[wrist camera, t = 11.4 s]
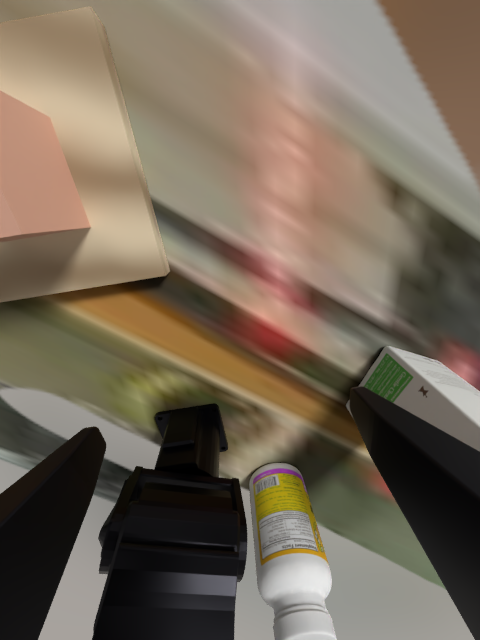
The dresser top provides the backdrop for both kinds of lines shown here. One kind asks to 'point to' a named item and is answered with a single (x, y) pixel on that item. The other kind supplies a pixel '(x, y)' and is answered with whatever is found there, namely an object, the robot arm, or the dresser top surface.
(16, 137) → the terracotta cube
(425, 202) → the dresser top surface
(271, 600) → the supplement bottle
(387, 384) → the skincare box
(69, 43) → the oak base
